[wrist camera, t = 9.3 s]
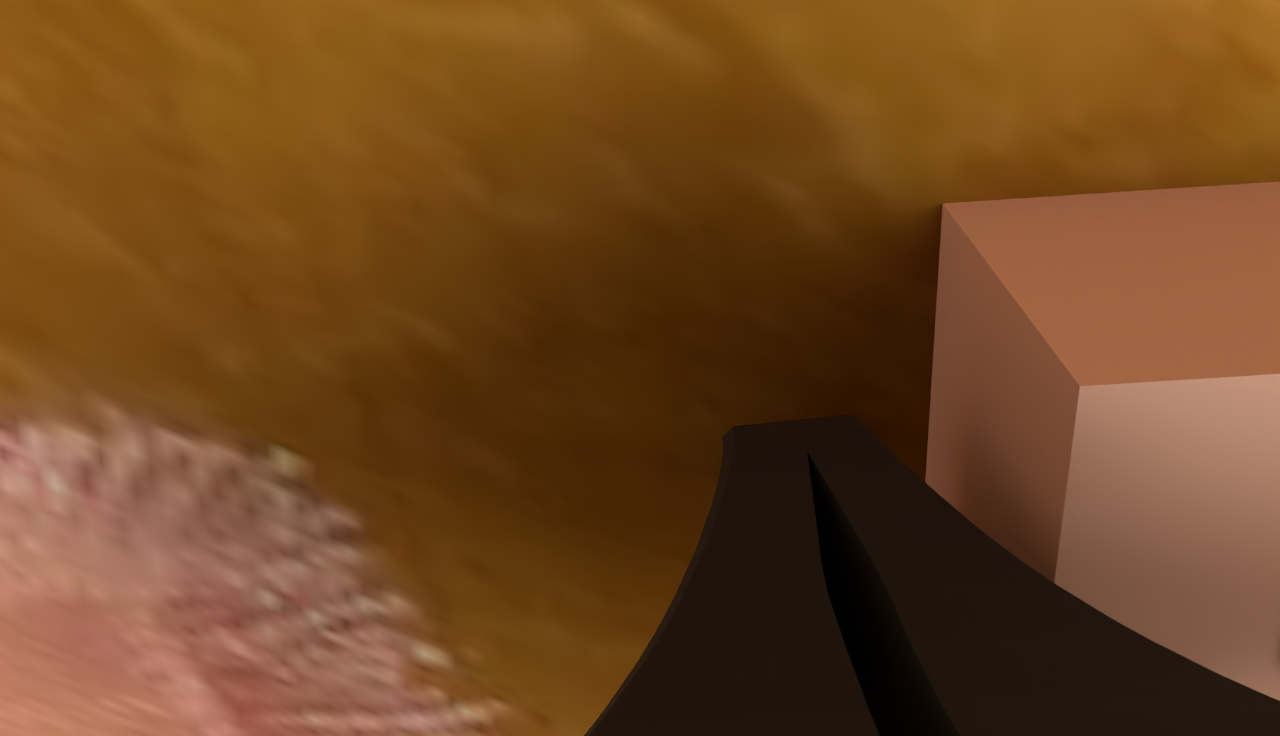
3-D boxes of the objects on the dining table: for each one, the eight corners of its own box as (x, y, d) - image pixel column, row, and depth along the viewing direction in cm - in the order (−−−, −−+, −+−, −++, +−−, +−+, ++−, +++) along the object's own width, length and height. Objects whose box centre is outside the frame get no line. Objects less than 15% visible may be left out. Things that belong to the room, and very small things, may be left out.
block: (1329, 566, 14) (1577, 843, 10) (915, 590, 14) (1018, 875, 10) (1434, 166, 12) (1805, 344, 8) (939, 199, 12) (1081, 389, 8)
